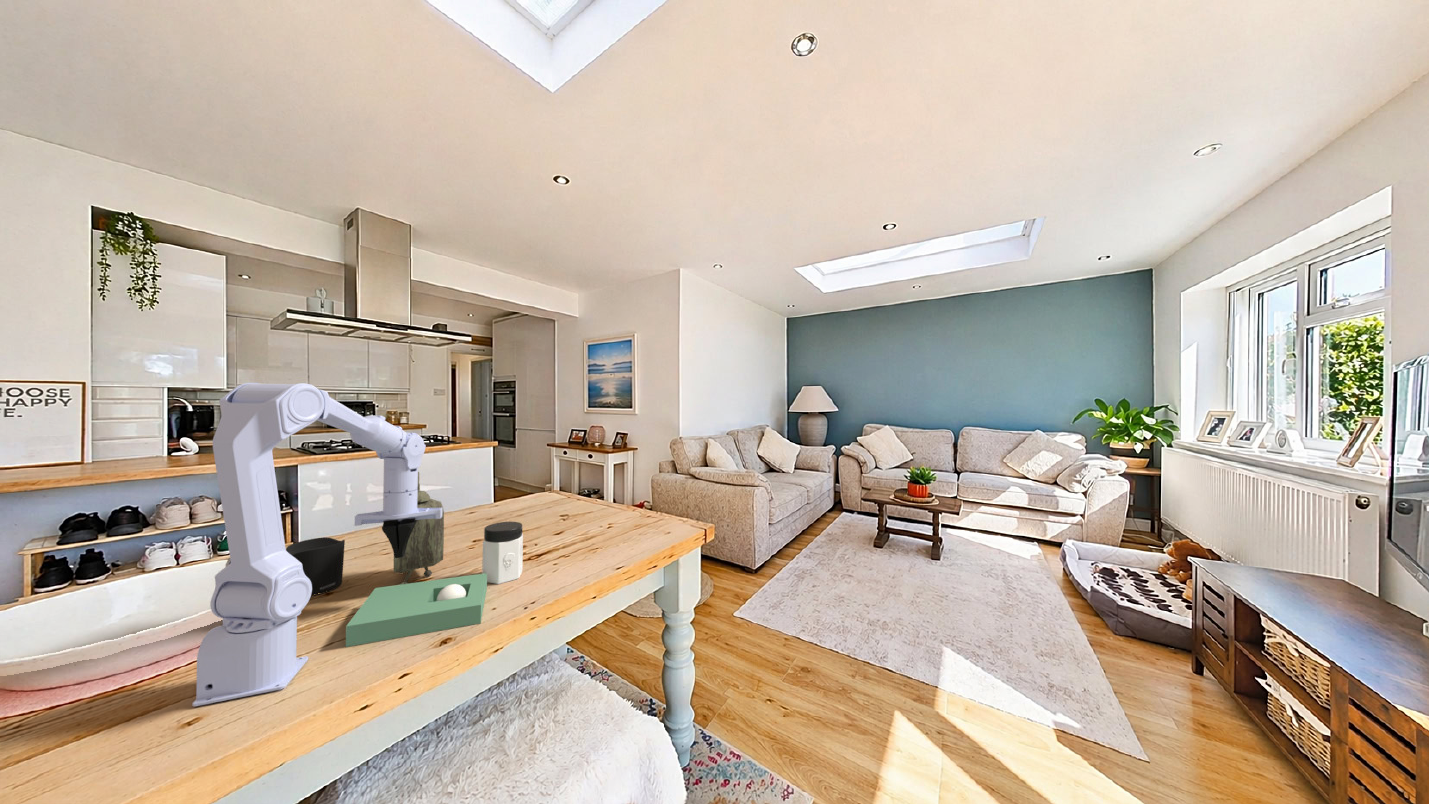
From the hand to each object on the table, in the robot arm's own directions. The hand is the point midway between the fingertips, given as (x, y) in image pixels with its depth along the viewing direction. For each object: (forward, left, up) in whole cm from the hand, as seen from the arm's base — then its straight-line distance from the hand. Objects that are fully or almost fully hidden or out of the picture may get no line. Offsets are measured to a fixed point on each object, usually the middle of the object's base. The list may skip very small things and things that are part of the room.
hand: (399, 556), depth 88 cm
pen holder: (-18, +14, -10) cm, 25 cm away
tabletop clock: (+1, +12, -10) cm, 15 cm away
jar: (+19, +6, -10) cm, 22 cm away
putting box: (+6, -8, -9) cm, 14 cm away
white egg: (+10, -9, -7) cm, 15 cm away
